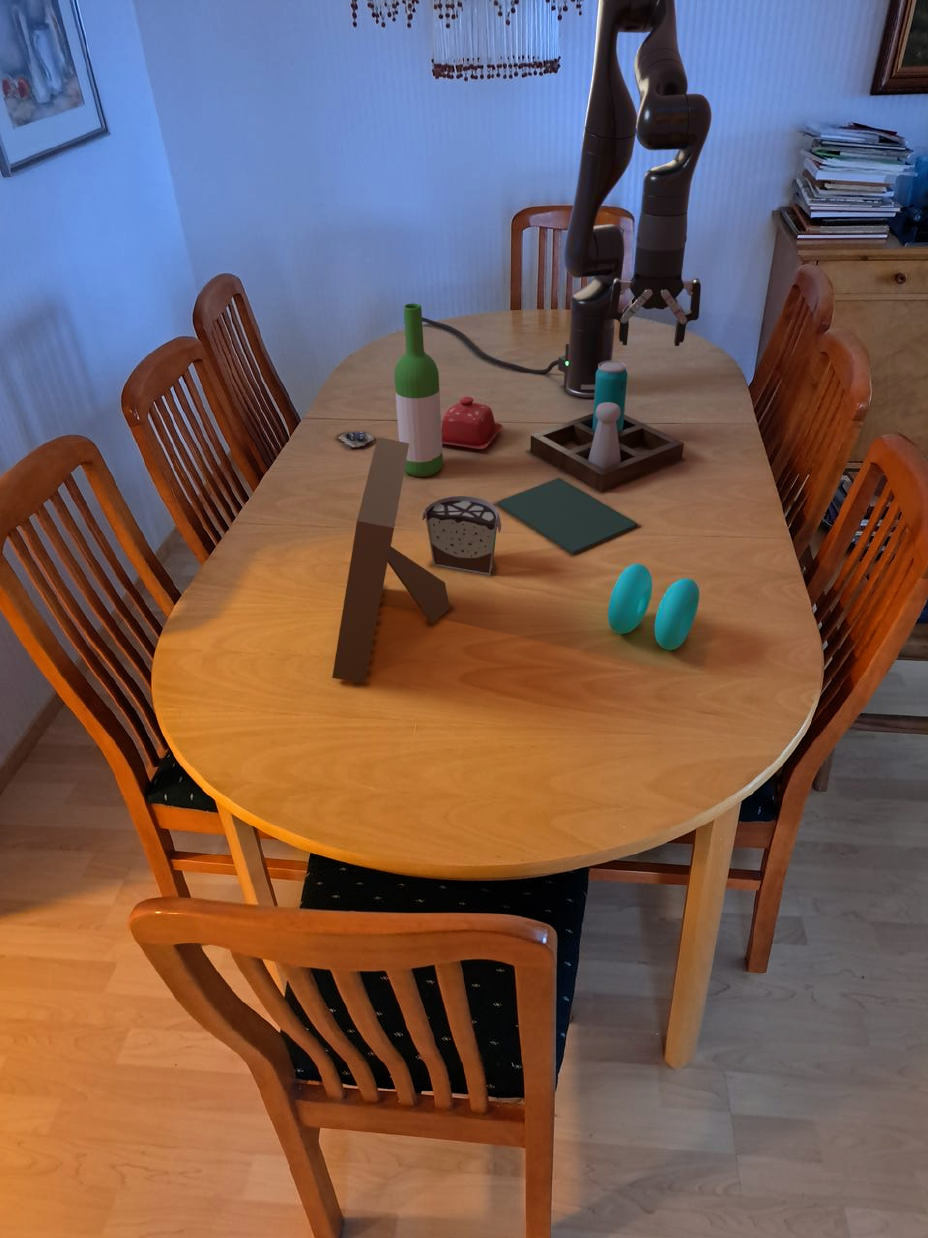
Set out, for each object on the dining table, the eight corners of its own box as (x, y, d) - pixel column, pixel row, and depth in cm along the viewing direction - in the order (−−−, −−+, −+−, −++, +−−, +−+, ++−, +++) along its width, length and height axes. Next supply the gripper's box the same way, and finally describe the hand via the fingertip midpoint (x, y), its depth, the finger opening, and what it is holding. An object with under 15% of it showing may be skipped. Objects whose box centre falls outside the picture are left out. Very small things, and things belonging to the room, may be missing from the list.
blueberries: (358, 452, 172) (357, 443, 171) (328, 442, 176) (327, 433, 175) (381, 439, 177) (380, 430, 176) (351, 429, 181) (350, 420, 179)
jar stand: (530, 451, 171) (530, 434, 169) (608, 423, 180) (609, 407, 178) (601, 492, 158) (603, 474, 156) (682, 459, 167) (684, 442, 165)
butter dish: (429, 446, 174) (427, 405, 169) (452, 422, 182) (450, 382, 177) (484, 455, 170) (484, 413, 165) (505, 430, 178) (505, 389, 173)
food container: (511, 555, 142) (511, 500, 136) (499, 576, 138) (499, 520, 132) (438, 543, 146) (435, 489, 140) (424, 563, 141) (421, 508, 135)
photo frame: (332, 683, 119) (308, 520, 104) (354, 588, 136) (336, 437, 121) (444, 683, 118) (436, 520, 103) (451, 588, 136) (445, 436, 121)
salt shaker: (619, 465, 166) (625, 398, 158) (620, 480, 161) (626, 412, 153) (587, 464, 166) (591, 398, 158) (587, 479, 162) (592, 411, 154)
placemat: (496, 504, 155) (496, 501, 155) (559, 480, 162) (559, 477, 161) (573, 554, 142) (573, 551, 142) (637, 526, 148) (637, 523, 148)
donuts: (670, 666, 120) (679, 606, 114) (601, 643, 124) (606, 584, 118) (696, 627, 127) (706, 568, 121) (631, 606, 131) (637, 548, 125)
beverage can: (625, 436, 175) (632, 362, 166) (616, 449, 171) (622, 373, 162) (597, 431, 177) (602, 357, 168) (587, 444, 173) (592, 368, 164)
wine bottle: (451, 467, 167) (445, 304, 148) (422, 483, 162) (411, 316, 144) (422, 455, 171) (412, 295, 153) (392, 470, 166) (379, 306, 148)
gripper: (705, 235, 142) (692, 336, 152) (614, 235, 143) (607, 335, 153) (710, 248, 136) (696, 353, 146) (614, 248, 138) (607, 351, 147)
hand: (650, 343), depth 150 cm, fingers open, 8 cm apart
